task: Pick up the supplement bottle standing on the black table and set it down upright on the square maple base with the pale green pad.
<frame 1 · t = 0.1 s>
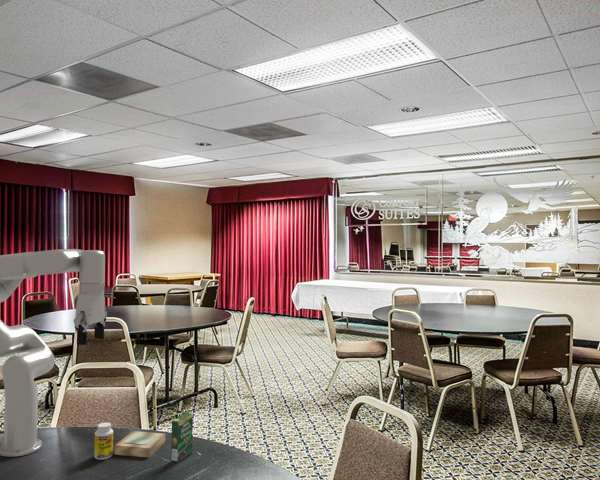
hand: (90, 341, 156), 37 cm above the table, tool pointing down, fingers open, 9 cm apart
base: (140, 448, 162), on the table
coffee box: (181, 458, 156), on the table
supplement bottle: (103, 457, 155), on the table
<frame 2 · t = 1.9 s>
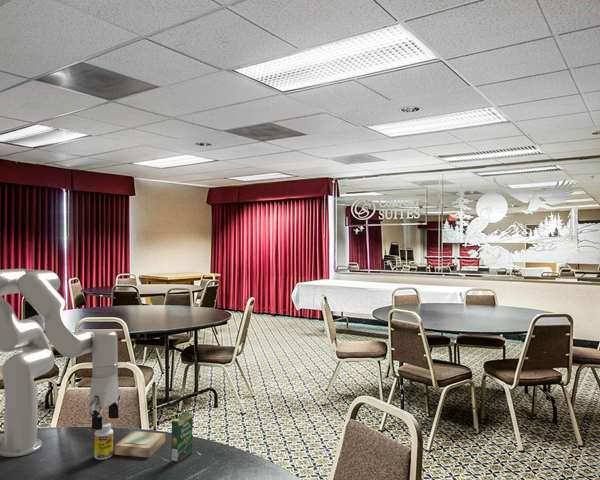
hand: (105, 423, 155), 11 cm above the table, tool pointing down, fingers open, 9 cm apart
nothing on the table moved.
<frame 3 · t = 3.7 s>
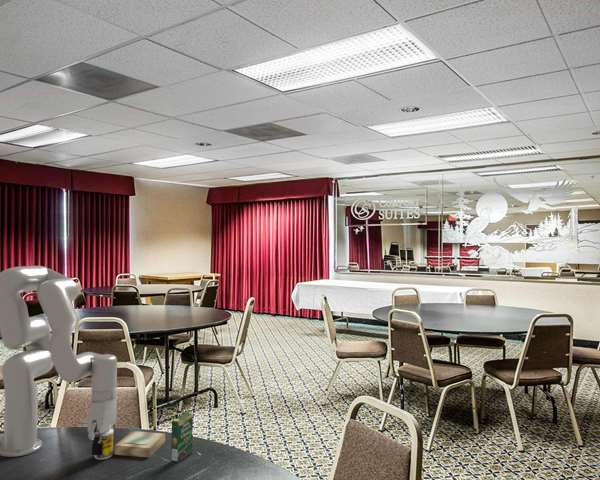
hand: (102, 450, 155), 2 cm above the table, tool pointing down, fingers closed on supplement bottle, 5 cm apart
supplement bottle: (103, 457, 155), on the table, touching gripper
everything else where it was.
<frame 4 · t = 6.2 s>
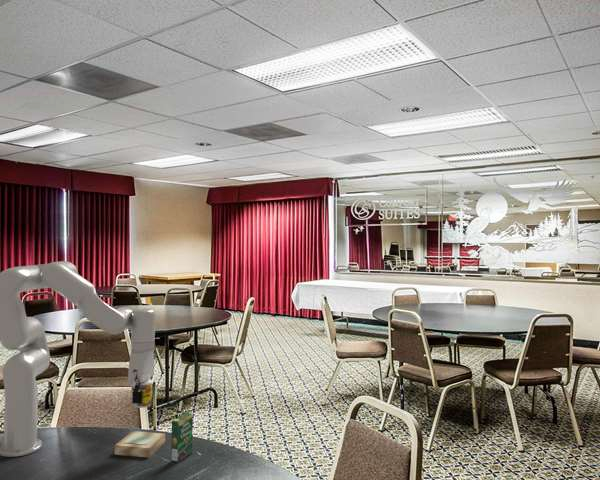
hand: (141, 399, 162), 16 cm above the table, tool pointing down, fingers closed on supplement bottle, 5 cm apart
supplement bottle: (142, 406, 162), point 14 cm above the table, touching gripper
everything else where it was.
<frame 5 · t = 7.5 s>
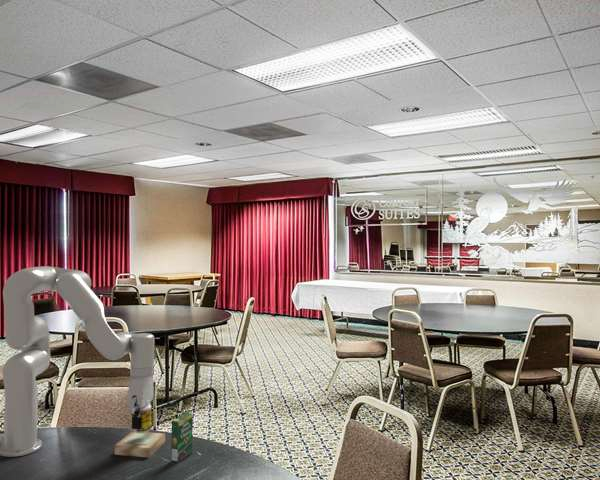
hand: (141, 424, 162), 8 cm above the table, tool pointing down, fingers closed on supplement bottle, 5 cm apart
supplement bottle: (142, 431, 162), point 6 cm above the table, touching gripper
everything else where it was.
when the fingers open (7 cm above the table, at t = 8.6 s): supplement bottle drops 2 cm, resting on base.
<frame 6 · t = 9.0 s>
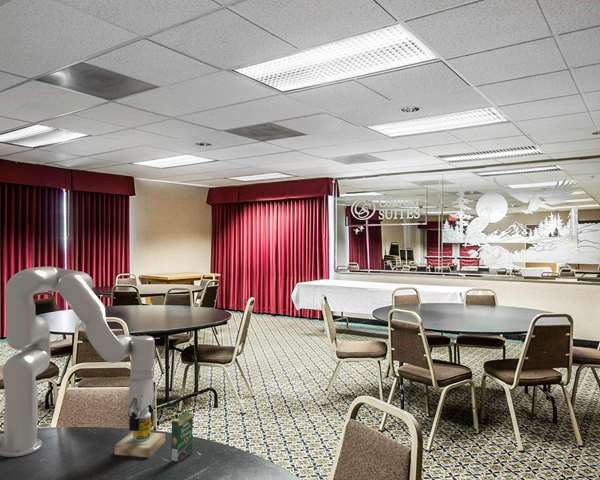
hand: (141, 424, 162), 8 cm above the table, tool pointing down, fingers open, 9 cm apart
supplement bottle: (141, 439, 162), point 3 cm above the table, touching base
everything else where it was.
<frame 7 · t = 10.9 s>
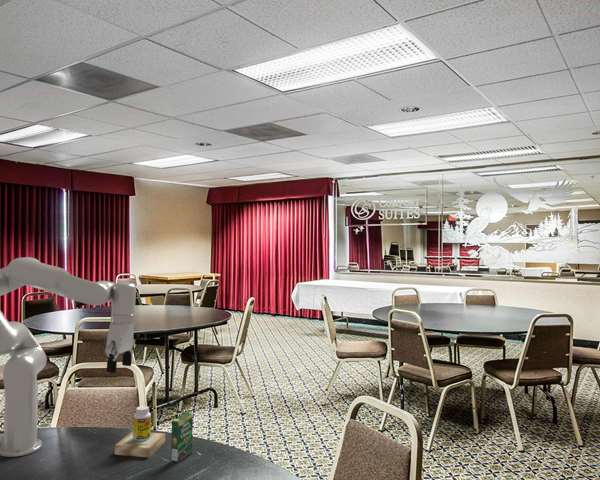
hand: (119, 368, 166), 25 cm above the table, tool pointing down, fingers open, 9 cm apart
nothing on the table moved.
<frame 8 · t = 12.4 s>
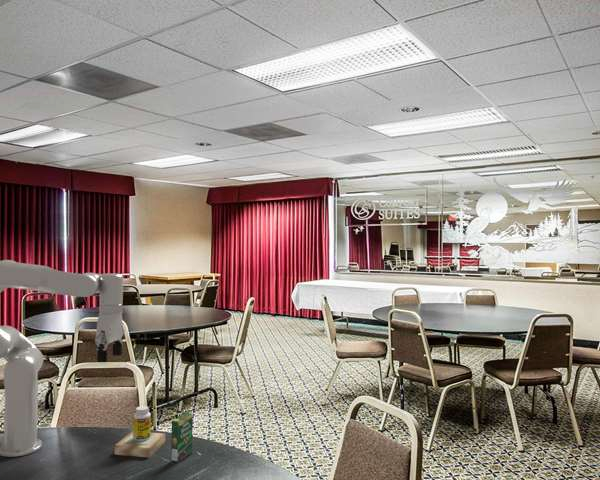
hand: (109, 358, 168), 28 cm above the table, tool pointing down, fingers open, 9 cm apart
nothing on the table moved.
at the end: supplement bottle inside the target area on the base (0.3 cm from its centre), point 3.0 cm above the base's base; supplement bottle tilted 0°; the gripper is holding nothing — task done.
